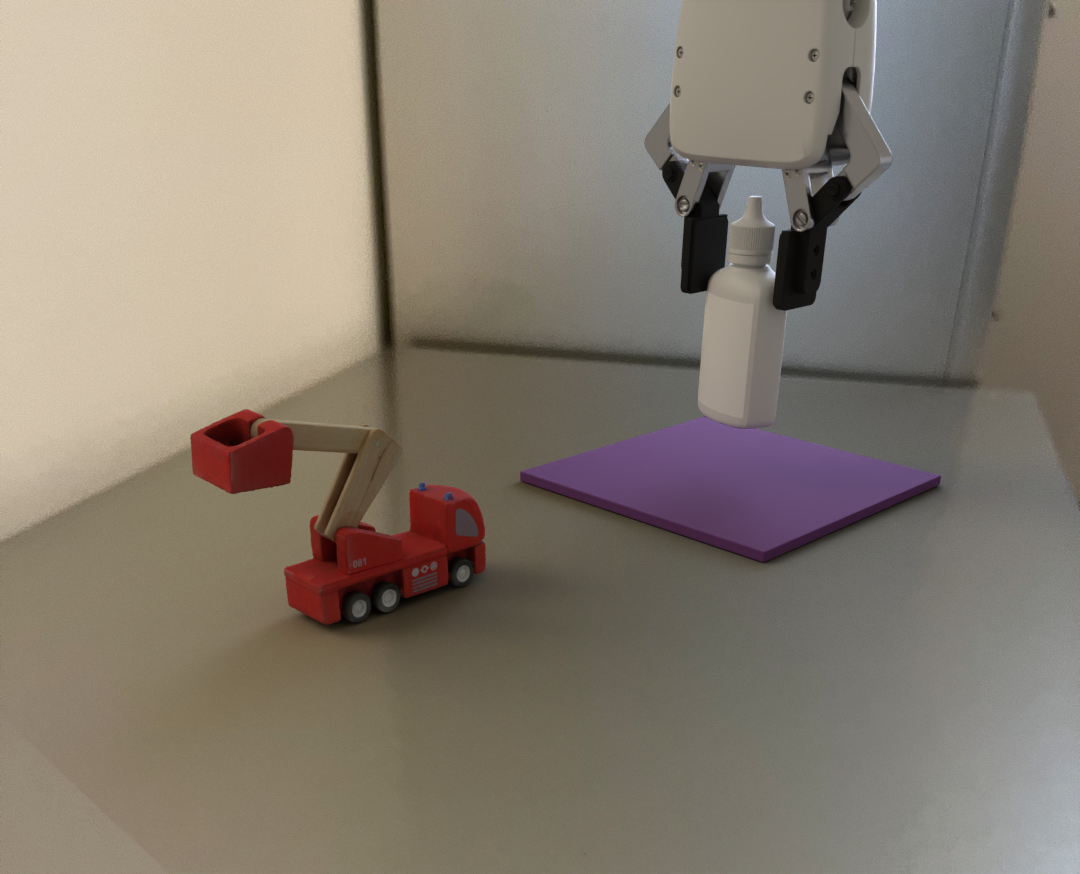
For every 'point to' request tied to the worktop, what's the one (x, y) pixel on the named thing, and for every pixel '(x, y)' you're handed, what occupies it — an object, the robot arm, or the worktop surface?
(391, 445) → the toy fire truck
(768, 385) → the eye dropper bottle
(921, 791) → the worktop surface
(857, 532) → the worktop surface
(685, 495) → the purple square mat
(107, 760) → the worktop surface
